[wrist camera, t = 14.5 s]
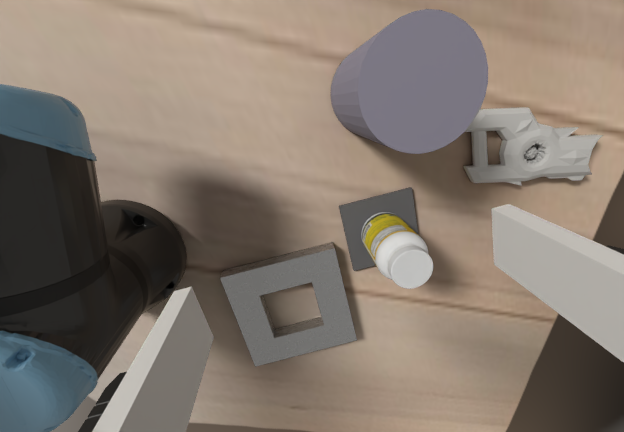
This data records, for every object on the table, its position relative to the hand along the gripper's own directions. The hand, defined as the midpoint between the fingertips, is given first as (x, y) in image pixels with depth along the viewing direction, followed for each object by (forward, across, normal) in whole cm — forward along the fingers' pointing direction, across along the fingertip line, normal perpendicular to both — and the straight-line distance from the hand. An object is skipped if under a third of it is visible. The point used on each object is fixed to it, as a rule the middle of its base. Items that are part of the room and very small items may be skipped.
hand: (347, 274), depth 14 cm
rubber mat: (+29, +8, -12) cm, 32 cm away
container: (+29, +10, +6) cm, 31 cm away
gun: (+29, +29, -5) cm, 41 cm away
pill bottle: (+28, +8, -12) cm, 32 cm away
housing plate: (+29, -7, -20) cm, 36 cm away
